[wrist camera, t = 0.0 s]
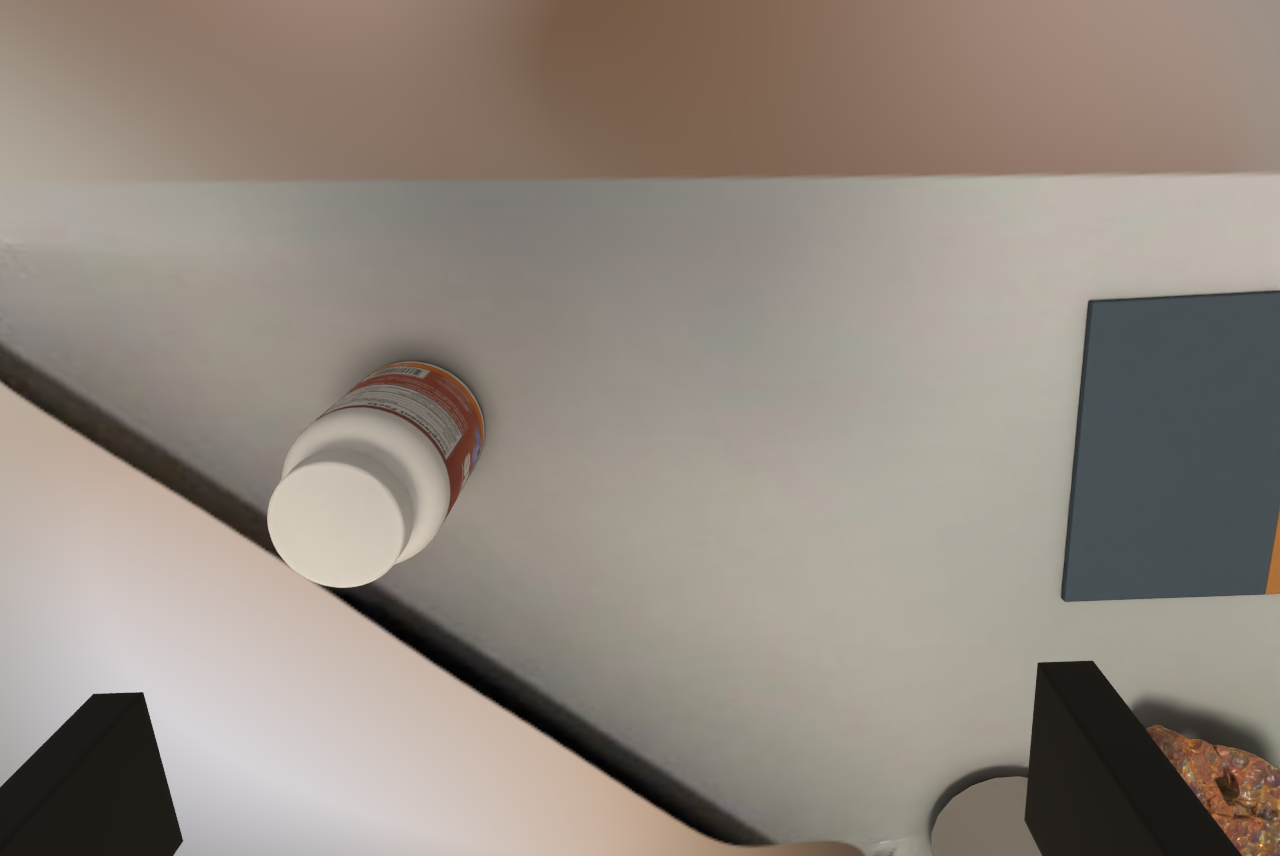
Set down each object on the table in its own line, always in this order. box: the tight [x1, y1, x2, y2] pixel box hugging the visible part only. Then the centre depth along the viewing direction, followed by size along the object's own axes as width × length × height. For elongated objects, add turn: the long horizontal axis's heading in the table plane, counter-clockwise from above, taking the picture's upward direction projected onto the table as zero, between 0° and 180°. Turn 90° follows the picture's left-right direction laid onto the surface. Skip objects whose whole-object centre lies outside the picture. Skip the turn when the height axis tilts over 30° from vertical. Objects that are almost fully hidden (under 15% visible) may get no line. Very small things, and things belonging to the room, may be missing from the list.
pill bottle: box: [267, 361, 484, 588], centre depth 37 cm, size 6×6×11 cm
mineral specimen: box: [1146, 725, 1280, 856], centre depth 44 cm, size 12×8×7 cm
